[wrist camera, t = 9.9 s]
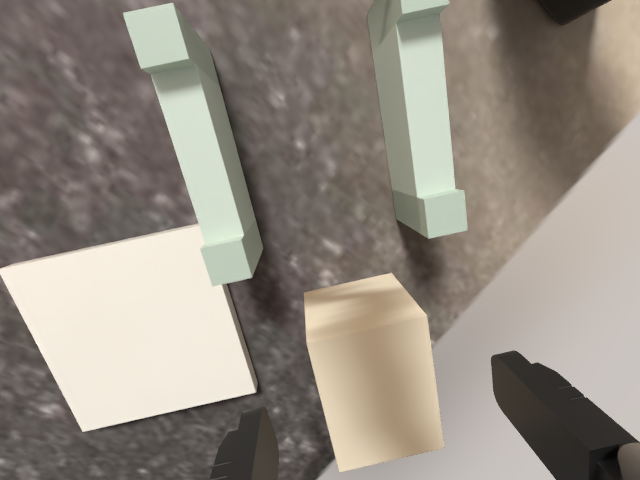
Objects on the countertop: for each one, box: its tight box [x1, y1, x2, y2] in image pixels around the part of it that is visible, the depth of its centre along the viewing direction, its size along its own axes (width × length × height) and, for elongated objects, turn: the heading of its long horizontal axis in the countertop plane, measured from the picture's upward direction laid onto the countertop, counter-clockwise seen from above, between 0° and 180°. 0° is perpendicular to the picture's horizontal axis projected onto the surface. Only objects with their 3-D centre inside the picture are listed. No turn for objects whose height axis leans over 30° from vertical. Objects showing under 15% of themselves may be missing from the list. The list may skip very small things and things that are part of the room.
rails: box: [123, 0, 467, 287], centre depth 13 cm, size 10×10×4 cm
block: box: [304, 273, 444, 472], centre depth 16 cm, size 5×7×5 cm
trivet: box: [0, 224, 258, 432], centre depth 16 cm, size 10×10×1 cm
